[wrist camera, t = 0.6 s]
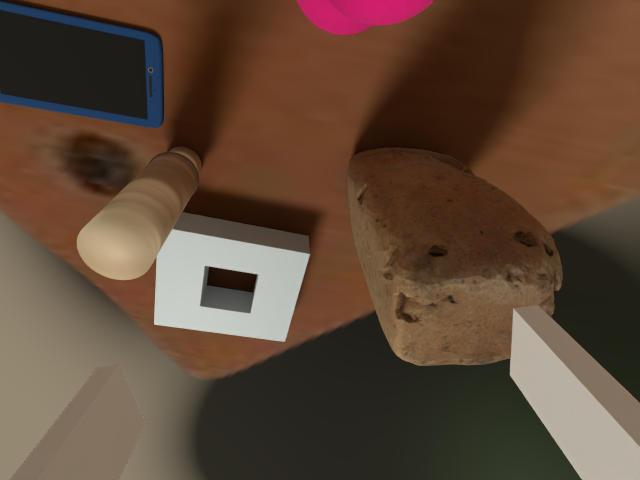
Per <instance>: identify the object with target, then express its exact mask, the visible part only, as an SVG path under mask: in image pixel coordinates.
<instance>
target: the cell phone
mask: <svg viewBox="0 0 640 480" xmlns="http://www.w3.org/2000/svg"><path fill="white" fill-rule="evenodd" d="M0 102H4V103H10V104H16V105H22V106H28V107H33V108H39V109H45V110H51V111H57V112H62V113H68V114H74V115H80V116H86V117H91V118H97V119H103V120H109V121H115V122H120V123H126V124H132V125H138V126H143V127H153V128H157V127H160V126H161V125H162V124H163V119H164V93H163V48H162V43H161V40H160V38H159V37H158V36H157V35H155V34H153V33H149V32H146V31H142V30H138V29H134V28H129V27H124V26H119V25H115V24H110V23H105V22H101V21H96V20H91V19H86V18H82V17H77V16H72V15H67V14H63V13H58V12H53V11H48V10H44V9H39V8H34V7H30V6H25V5H20V4H15V3H11V2H6V1H1V0H0Z"/></svg>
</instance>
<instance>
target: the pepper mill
mask: <svg viewBox="0 0 640 480" xmlns="http://www.w3.org/2000/svg"><path fill="white" fill-rule="evenodd" d="M433 1H434V0H297V2H298V4H299V6H300V8H301V10H302V11H303V12H304V14H305V15H306V17H307V18H308V19H309V20H310V21H311V22H312V23H313V24H315V25H316V26H317V27H319V28H320V29H322V30H324V31H326V32H329V33H332V34H337V35H352V34H356V33H359V32H362V31H364V30H366V29H368V28H370V27H371V26H373V25H390V24H396V23H399V22H402V21H404V20H407V19H409V18H411V17H413V16H415V15H417V14H419V13H420V12H421V11H423V10H424V9H425V8H427V7H428V6H429V5H430V4H431V3H432V2H433Z"/></svg>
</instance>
